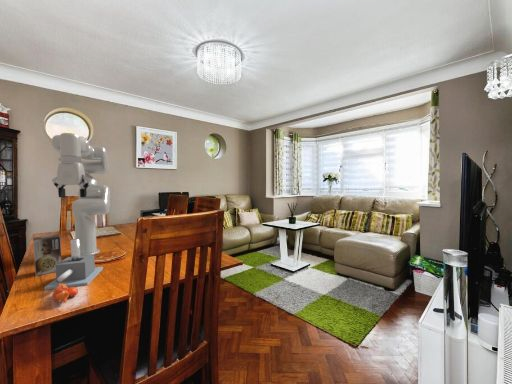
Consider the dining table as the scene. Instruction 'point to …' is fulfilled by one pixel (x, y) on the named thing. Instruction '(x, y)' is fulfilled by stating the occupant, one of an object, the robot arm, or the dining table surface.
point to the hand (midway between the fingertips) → (72, 197)
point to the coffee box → (46, 253)
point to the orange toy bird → (63, 293)
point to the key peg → (75, 250)
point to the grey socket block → (75, 272)
